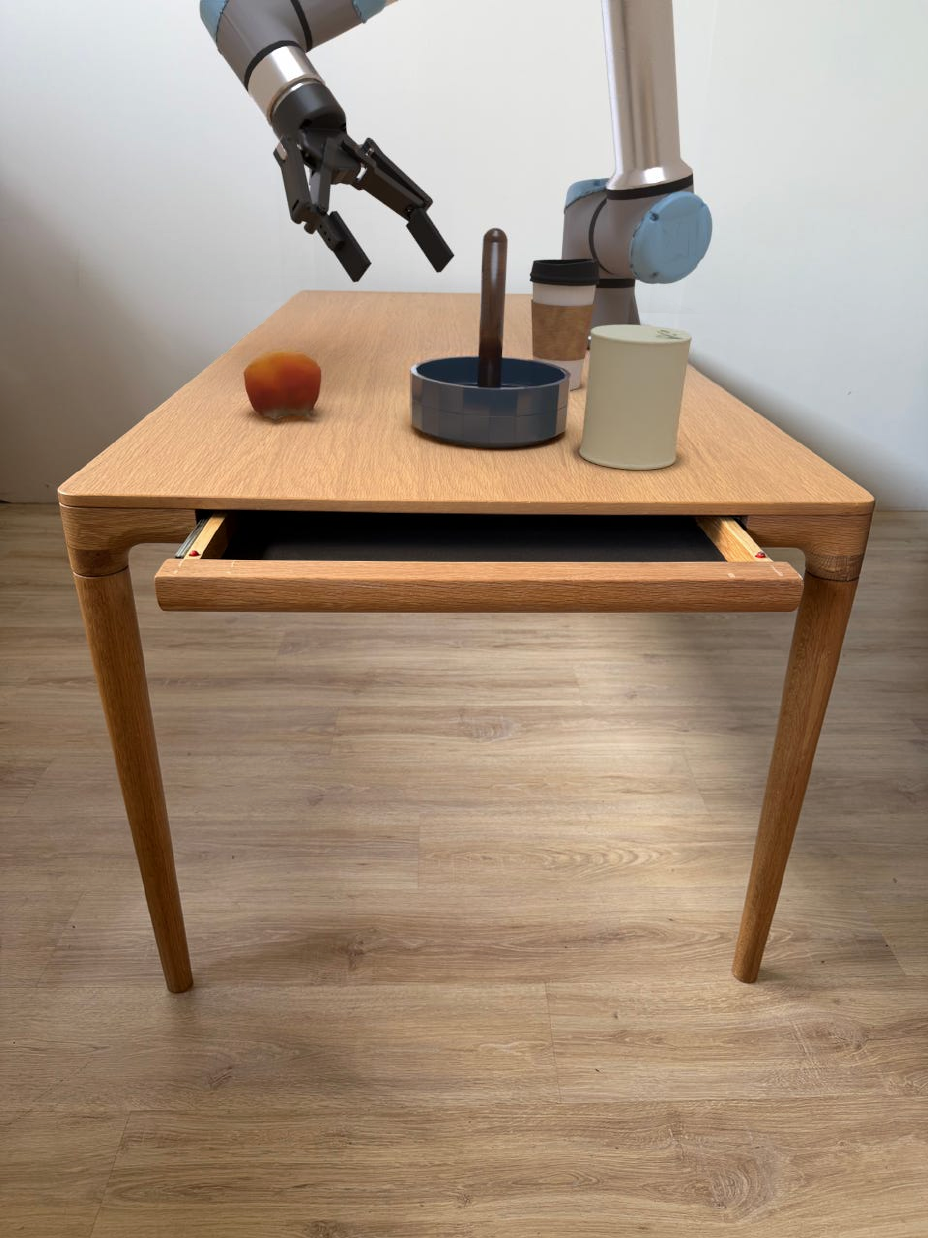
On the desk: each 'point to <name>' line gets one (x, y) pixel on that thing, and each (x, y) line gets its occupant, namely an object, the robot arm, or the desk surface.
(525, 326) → the desk surface
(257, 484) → the desk surface
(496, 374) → the stick
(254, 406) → the fruit
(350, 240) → the robot arm
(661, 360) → the can
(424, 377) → the bowl
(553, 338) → the coffee cup
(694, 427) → the desk surface
